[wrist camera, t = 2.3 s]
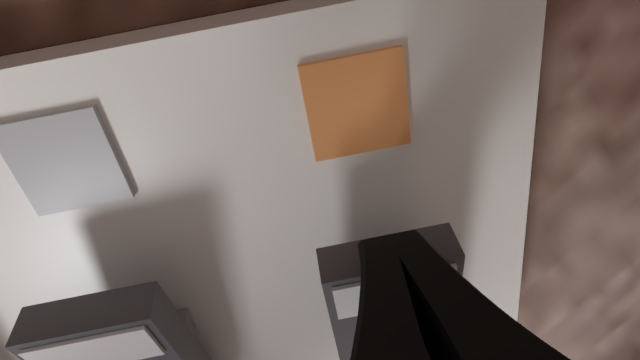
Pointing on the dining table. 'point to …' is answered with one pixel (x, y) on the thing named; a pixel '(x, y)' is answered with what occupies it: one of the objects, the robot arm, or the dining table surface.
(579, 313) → the dining table surface
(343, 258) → the block
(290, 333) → the switch panel
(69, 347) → the block
